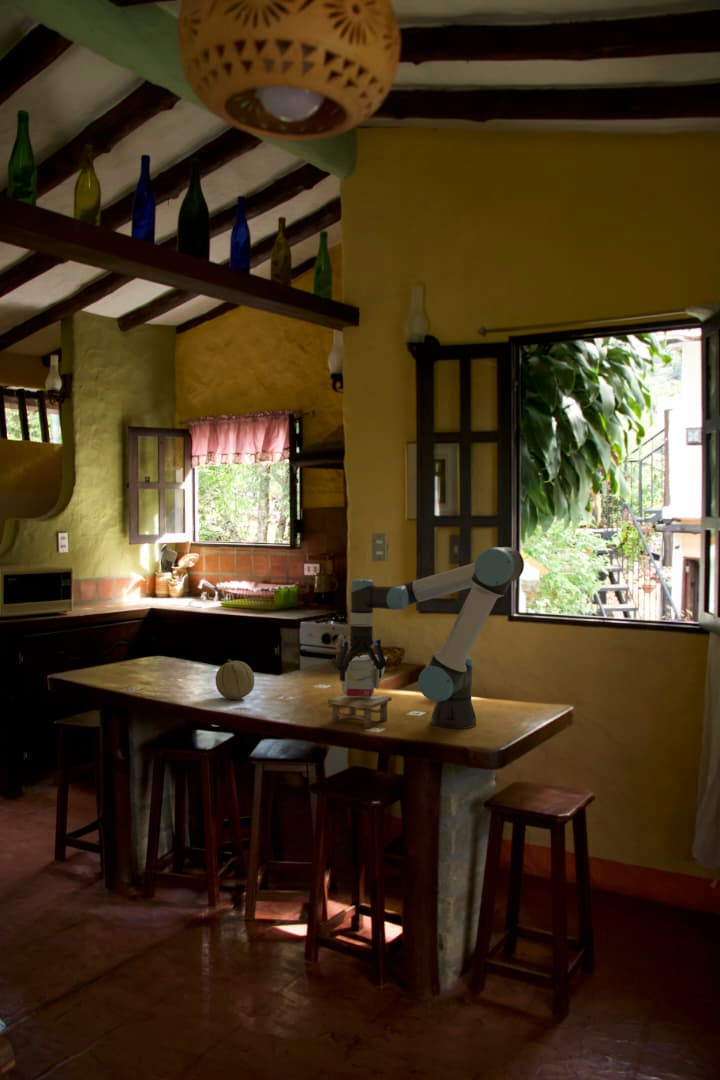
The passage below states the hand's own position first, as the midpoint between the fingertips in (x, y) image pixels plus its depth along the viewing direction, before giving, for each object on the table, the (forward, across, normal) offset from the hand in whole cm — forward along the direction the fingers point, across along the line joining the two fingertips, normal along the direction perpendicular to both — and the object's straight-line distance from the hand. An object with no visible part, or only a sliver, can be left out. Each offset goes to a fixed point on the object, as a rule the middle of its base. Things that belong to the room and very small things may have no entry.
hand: (360, 689), depth 300 cm
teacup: (+11, -41, -69) cm, 81 cm away
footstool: (+11, 0, 0) cm, 11 cm away
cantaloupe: (+11, +26, -52) cm, 59 cm away
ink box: (+2, 0, 0) cm, 2 cm away
